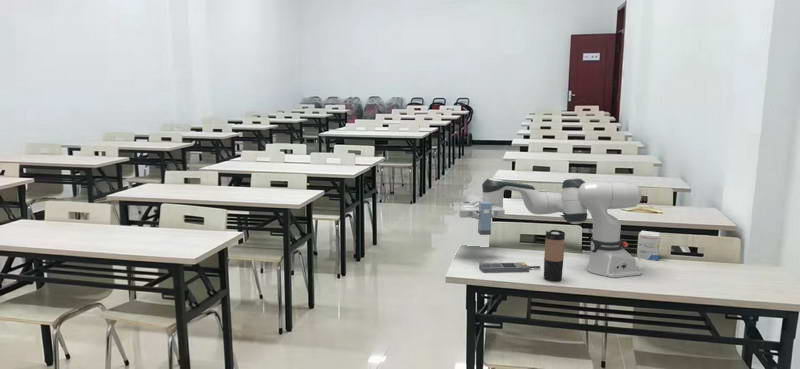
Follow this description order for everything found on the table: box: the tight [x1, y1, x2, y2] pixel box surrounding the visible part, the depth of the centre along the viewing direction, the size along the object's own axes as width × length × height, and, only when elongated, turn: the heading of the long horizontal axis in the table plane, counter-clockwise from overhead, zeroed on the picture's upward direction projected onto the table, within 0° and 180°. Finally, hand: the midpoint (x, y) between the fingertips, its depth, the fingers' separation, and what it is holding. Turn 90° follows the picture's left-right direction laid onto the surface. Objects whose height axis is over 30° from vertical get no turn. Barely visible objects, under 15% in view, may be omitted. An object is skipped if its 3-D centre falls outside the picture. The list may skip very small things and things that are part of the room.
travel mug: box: [543, 229, 566, 283], centre depth 242 cm, size 8×8×20 cm
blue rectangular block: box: [477, 201, 492, 236], centre depth 259 cm, size 5×5×14 cm
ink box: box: [638, 230, 661, 261], centre depth 274 cm, size 9×8×12 cm
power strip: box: [478, 261, 541, 274], centre depth 255 cm, size 26×7×2 cm, turn 96°
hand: (485, 216), depth 258 cm, fingers closed on blue rectangular block, 5 cm apart
